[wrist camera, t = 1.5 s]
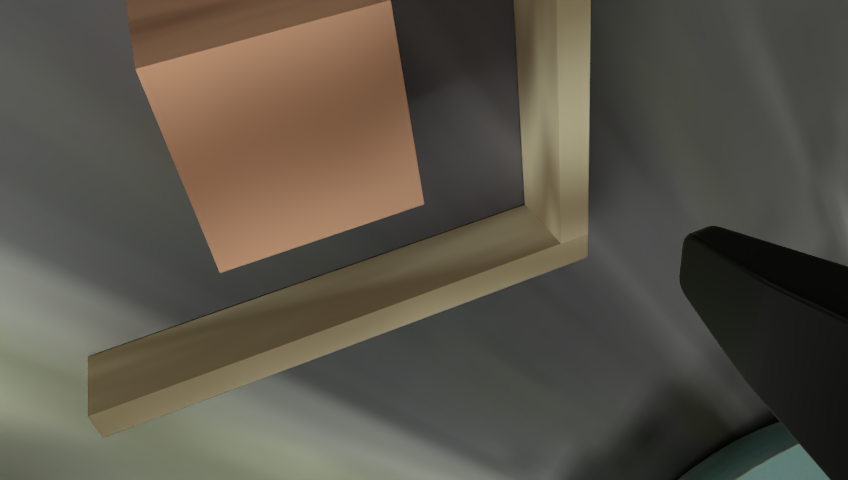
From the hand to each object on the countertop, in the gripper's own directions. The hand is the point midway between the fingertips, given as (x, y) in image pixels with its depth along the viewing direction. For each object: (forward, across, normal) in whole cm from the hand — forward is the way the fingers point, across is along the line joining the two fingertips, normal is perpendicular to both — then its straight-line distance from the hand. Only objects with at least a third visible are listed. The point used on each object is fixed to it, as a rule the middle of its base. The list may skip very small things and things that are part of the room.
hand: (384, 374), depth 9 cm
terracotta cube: (+12, 0, +1) cm, 12 cm away
